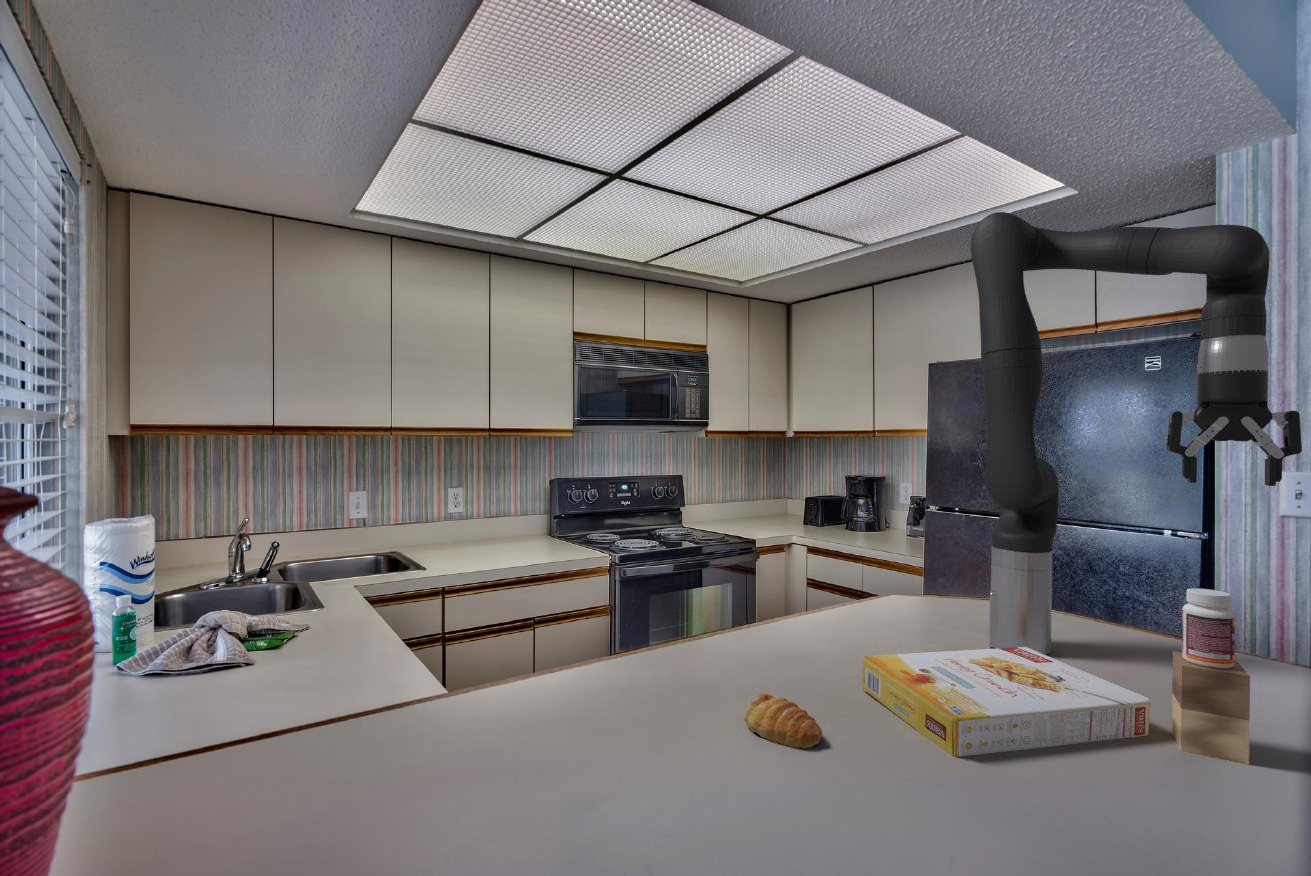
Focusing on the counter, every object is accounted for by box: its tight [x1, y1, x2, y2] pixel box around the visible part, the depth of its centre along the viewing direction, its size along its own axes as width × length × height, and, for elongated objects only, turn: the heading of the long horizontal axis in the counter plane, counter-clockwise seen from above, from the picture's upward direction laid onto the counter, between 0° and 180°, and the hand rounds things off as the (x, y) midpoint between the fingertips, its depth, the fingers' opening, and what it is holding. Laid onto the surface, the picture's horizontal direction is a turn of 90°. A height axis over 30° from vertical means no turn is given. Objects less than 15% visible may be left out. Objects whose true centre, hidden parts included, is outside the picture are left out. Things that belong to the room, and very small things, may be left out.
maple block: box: [1171, 691, 1251, 766], centre depth 77 cm, size 6×6×5 cm
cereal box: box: [861, 647, 1151, 758], centre depth 87 cm, size 20×6×28 cm
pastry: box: [744, 693, 823, 749], centre depth 79 cm, size 9×7×4 cm
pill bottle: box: [1181, 587, 1236, 669], centre depth 77 cm, size 5×5×8 cm
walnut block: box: [1171, 651, 1251, 721], centre depth 77 cm, size 6×6×5 cm
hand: (1230, 484), depth 93 cm, fingers open, 8 cm apart
